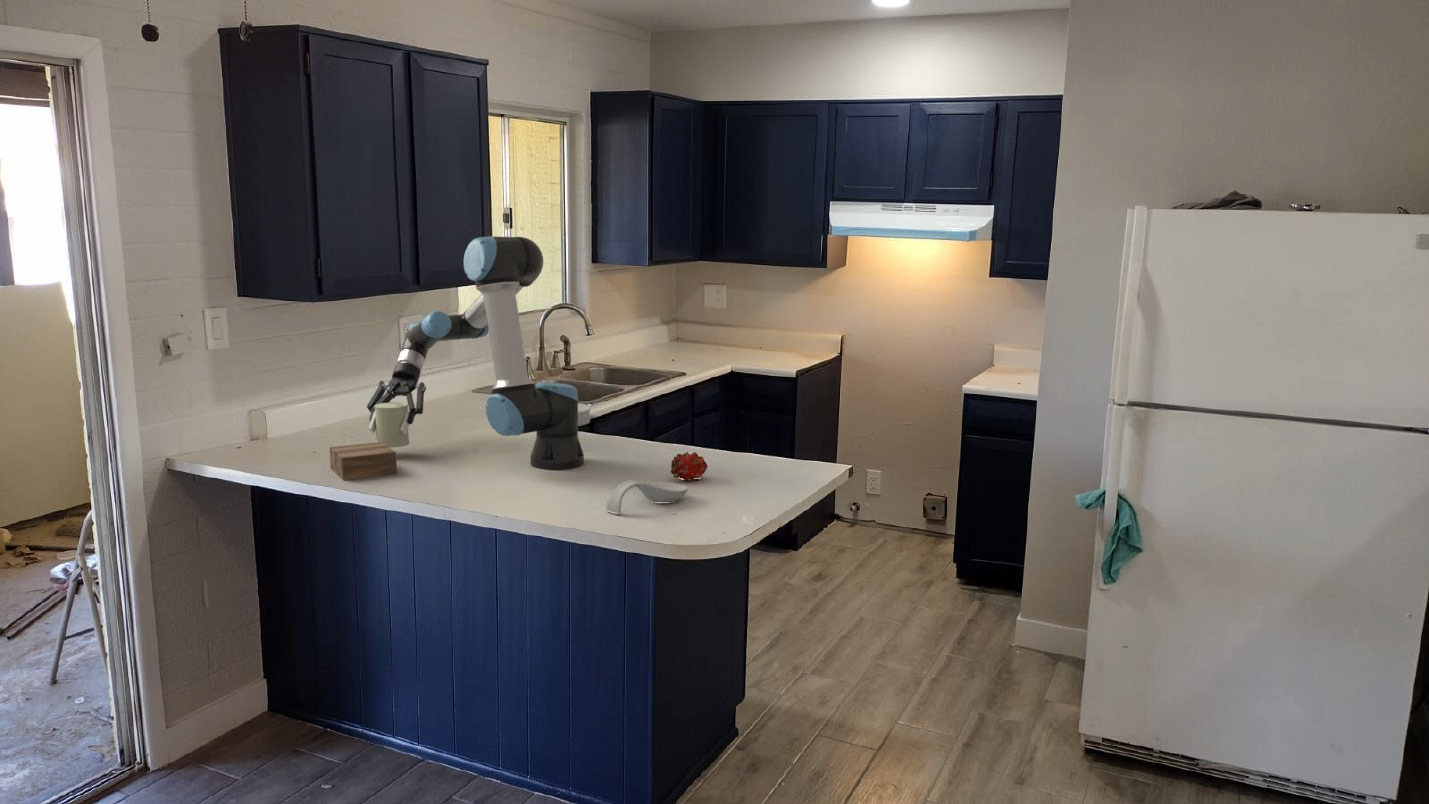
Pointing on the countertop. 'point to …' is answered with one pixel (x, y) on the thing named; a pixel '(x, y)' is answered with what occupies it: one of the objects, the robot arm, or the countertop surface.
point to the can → (391, 424)
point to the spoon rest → (646, 493)
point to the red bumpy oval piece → (688, 466)
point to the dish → (583, 414)
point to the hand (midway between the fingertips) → (387, 431)
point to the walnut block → (363, 460)
